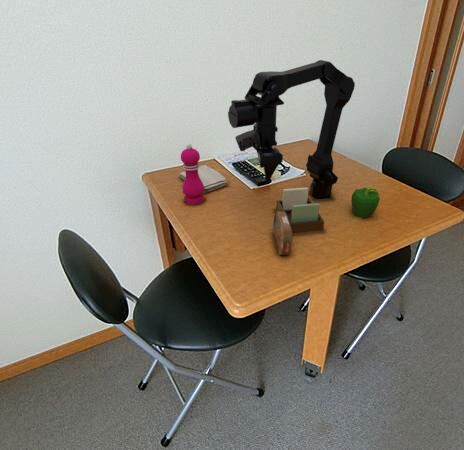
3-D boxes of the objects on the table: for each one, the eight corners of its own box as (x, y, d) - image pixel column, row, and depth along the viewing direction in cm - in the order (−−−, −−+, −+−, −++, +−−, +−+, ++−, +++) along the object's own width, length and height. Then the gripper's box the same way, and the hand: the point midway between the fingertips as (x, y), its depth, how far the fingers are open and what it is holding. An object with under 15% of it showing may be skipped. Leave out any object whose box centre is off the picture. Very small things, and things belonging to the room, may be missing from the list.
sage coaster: (289, 228, 101) (291, 205, 97) (315, 225, 103) (318, 202, 98) (290, 230, 101) (292, 206, 96) (316, 227, 102) (319, 204, 97)
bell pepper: (344, 214, 109) (349, 187, 104) (355, 205, 114) (360, 178, 109) (368, 224, 105) (375, 195, 99) (379, 213, 110) (386, 186, 104)
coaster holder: (276, 210, 111) (276, 200, 109) (307, 207, 113) (308, 197, 111) (287, 235, 99) (288, 224, 97) (322, 232, 101) (324, 221, 99)
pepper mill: (201, 206, 113) (196, 149, 102) (180, 204, 114) (173, 147, 103) (207, 196, 119) (203, 141, 108) (188, 194, 120) (182, 139, 109)
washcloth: (203, 195, 119) (202, 187, 118) (178, 177, 131) (177, 170, 129) (230, 185, 126) (230, 178, 124) (204, 169, 137) (203, 162, 135)
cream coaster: (281, 211, 110) (283, 189, 105) (305, 209, 111) (307, 187, 106) (282, 212, 109) (283, 190, 104) (306, 210, 110) (308, 188, 106)
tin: (272, 229, 102) (273, 205, 97) (282, 229, 102) (284, 204, 97) (280, 261, 89) (281, 235, 85) (291, 261, 90) (294, 234, 85)
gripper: (233, 114, 101) (234, 163, 109) (241, 134, 85) (242, 189, 94) (270, 112, 102) (268, 160, 111) (284, 132, 87) (281, 186, 96)
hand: (264, 173), depth 103 cm, fingers open, 9 cm apart
